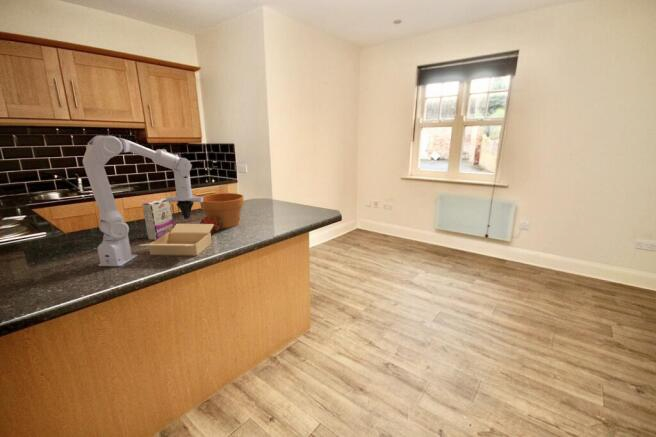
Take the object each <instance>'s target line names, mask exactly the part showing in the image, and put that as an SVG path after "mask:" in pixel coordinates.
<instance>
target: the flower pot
mask: <svg viewBox="0 0 656 437" xmlns="http://www.w3.org/2000/svg"><path fill="white" fill-rule="evenodd" d="M202 197H203V202H199V204H200V208H201V209H203V213H204V214H205V217H208V218H209V217H211V216H213V217H214V218H215V217H218V218H219V219H221V220H222V226H221V228H220V229H221V230H222V229H228V228H234V227H236V226H238V225H239V224H240V218H241V213H242V207H243V206H244V195H243V194H241V193H236V192H234V193H233V192H232V193H231V192H220V193H212V194H207V195H203V196H202Z"/></svg>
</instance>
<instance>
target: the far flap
mask: <svg viewBox="0 0 656 437" xmlns="http://www.w3.org/2000/svg"><path fill="white" fill-rule="evenodd" d="M213 226H214V224H200V223H176V224H175V225H174V228H173V229H172V231H171V233H211V232H210V231H211V229H212V227H213Z"/></svg>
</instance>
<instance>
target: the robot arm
mask: <svg viewBox="0 0 656 437" xmlns="http://www.w3.org/2000/svg"><path fill="white" fill-rule="evenodd" d="M120 153H132V154H136V155H139V156H142V157H145V158H147V159H148V158H149V159H150V160H152V162H153V163H154V164H155V165H159V166H162V167H164V168H168V169H171V170H172V171H173V176H174V184H175V191H176V196H167V197H166V198H165V199H166V200H167V202H170V203H171V202H173V203H174V202H176V206H177V208H178V209H179V210H180V212H181V214H182V217H183V218H184V220H188V219H190V217H191V212H192V209H193V206H194V204H195V203H200V202H203V196H194V195H193V193H192V192H193V191H192V184H191V175H190V174H191V173H190V171H191V169H192V168H193V167H192V166H193V164H192V163H191V162H190V161H189V159H187V158H186V157H180V156H179V154H176V153H175V154H173V153H171V152H168V151H167V149H165V148H162V149H160V148H158V149H156V150H153V149H151V148H148V147H146V146H143V145H140V144H138V143H136V142H134V141H131V140H128V139H125V138H121V137H116V136H114V135H102V134H101V135H100V134H99V135H95V136H94V137H92V138H91V139H90V140H89V141H88V142H87V146H86V150H85V152H84V155H83V157H82V165H83V168H84V170H85V174H86V176H87V180H88V181H89V182H88V183H89V184H90V187H91V192H92V194H93V196H94V199H95V203H96V206H97V209H98V211H99V215H98V218H99V224H98V227H99V230H100V231H101V232H102V233H103V237H102V239H103V240H102V242H101V243H100V244H98V246H97V254H98V259H99V264H98V266H99V267H122V266H124V265H125V264H127V263H128V262H130V261H131V260H133V259H135V258H137V257H138V254H132V251H131V245H130V240H129V232H130V228H129V225H128V224H127V223H126V222H125V221H124V218H123V216H122V214H121V213H120V212H119V210H118V207H117V203H116V200H115V197H114V195H113V191H112V188H111V185H110V181H109V178H108V175H107V172H106V169H105V165H106V164H107V163H108V162H109V161H110V159H111V158H113V157H116V156H118V155H119V154H120Z"/></svg>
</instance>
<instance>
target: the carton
mask: <svg viewBox="0 0 656 437" xmlns="http://www.w3.org/2000/svg"><path fill="white" fill-rule="evenodd" d="M149 244H194V246H148V248H149V254H150V256H187V257H188V256H189V257H190V256H193V257H194V256H195V257H196V256H199V255H200V254H201V253H202V252H203V251H204V250H205V249H207V248H208V246H210V245H211V244H212V235H211V232H210V233H171V232H168V233H167V234H165V235H163V236H162V237H160V238H158V239H156V240H152V242H150V243H149Z"/></svg>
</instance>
